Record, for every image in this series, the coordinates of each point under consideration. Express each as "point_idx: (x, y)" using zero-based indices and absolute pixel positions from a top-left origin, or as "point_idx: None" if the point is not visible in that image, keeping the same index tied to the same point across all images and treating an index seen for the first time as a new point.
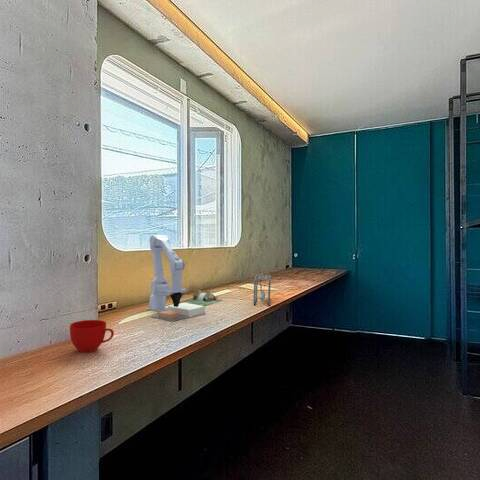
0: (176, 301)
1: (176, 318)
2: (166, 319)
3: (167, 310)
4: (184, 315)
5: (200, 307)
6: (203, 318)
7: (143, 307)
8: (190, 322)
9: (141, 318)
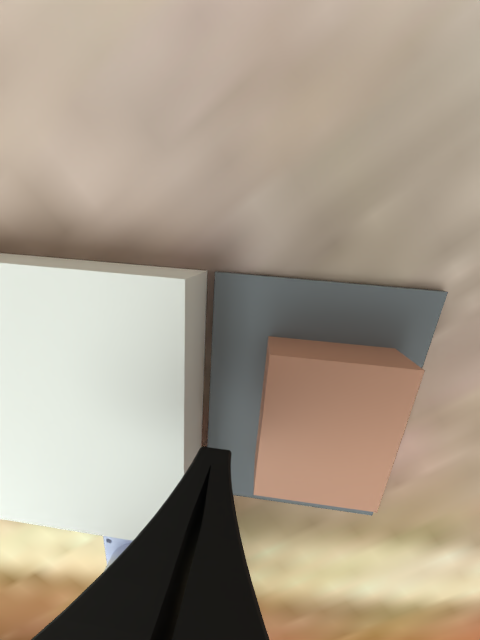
0: (238, 529)
1: (336, 325)
2: None
3: (267, 486)
4: (203, 328)
5: None
6: (144, 108)
7: None
8: (387, 110)
9: (438, 534)
